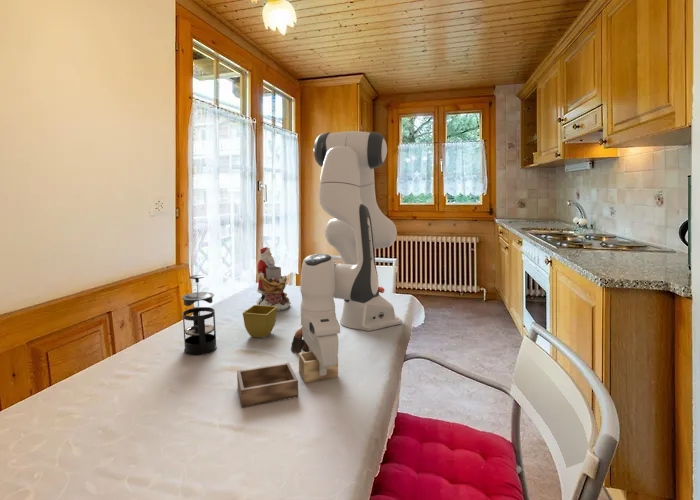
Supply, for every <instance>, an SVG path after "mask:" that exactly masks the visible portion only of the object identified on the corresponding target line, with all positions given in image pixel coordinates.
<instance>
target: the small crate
mask: <svg viewBox="0 0 700 500" xmlns="http://www.w3.org/2000/svg"><path fill="white" fill-rule="evenodd" d="M319 365H320V363H319V361H318V359H317V358H316V357H315V355H314V354H313V352H312V351H310V352H304V351H303V352H301V353H299V354H298V373H299V376H300V378H301V379H302V381H303V383H304V384H308V383H311V382H313V383H314V382H317V381H324V379H325V380H330V379H335V378H334V377H336V378H339V358H338V359H337V363H336V365H334V366H329V367H327V374H326V375H323V376H321V375H320V374H319V372H318V367H319ZM329 378H330V379H329ZM307 382H308V383H307Z"/></svg>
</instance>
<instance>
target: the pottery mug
mask: <svg viewBox="0 0 700 500" xmlns="http://www.w3.org/2000/svg"><path fill="white" fill-rule="evenodd" d="M302 329H303V326H302V325H301V328H299V329H298V330H297V331H295V334H294V335H293V338H292V342H291V346H290V349H291V351H292V352H293V353H295V354H298V355H299V353H302V351H303V352H310V351H309V347H308V345H307V344H306V342H305V341H304V339H303V335H302Z"/></svg>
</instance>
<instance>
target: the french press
mask: <svg viewBox="0 0 700 500" xmlns="http://www.w3.org/2000/svg"><path fill="white" fill-rule="evenodd" d="M203 278H205V275H203V274H196V275H191V276H189V279H192V280H195V283H196V292H191V293H185V294H184V295H182V296H181V300H183V306H185V307H190V306H192V305H193V304H195V303H196V302H197V306H193V307H191V308H188V309H186V310H184V311H183V312H182V324H183V326H182V327H183V339H184V340H183V342H184V350H183V351H184V352H183V353H184V354H185V355H188V356H194V357H195V356H204V355H205V356H206V355H208V354H211V353H213V352H214V351H216V350H217V348H218V345H217V333H216V314H215V313H216V312H215V311H216V310H215V309H214V308H213V307H207V306H200V301H203V302H207V303H208V304H212V303H213V300H214V299H213V298H214V296H215V294H214V293H213V292H207V291H199V283H200V280H199V279H203ZM201 312H209V313H207V314H202V315H201ZM189 314H192V315H189ZM211 318H213V320H212V321H213V325H212V324H206V323H205V322H206V320H208V319H211ZM185 321H191V322H192V321H193V326H190V327H187V328H186V325H185ZM212 332H213V334H212ZM186 335H187V337H186Z"/></svg>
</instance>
